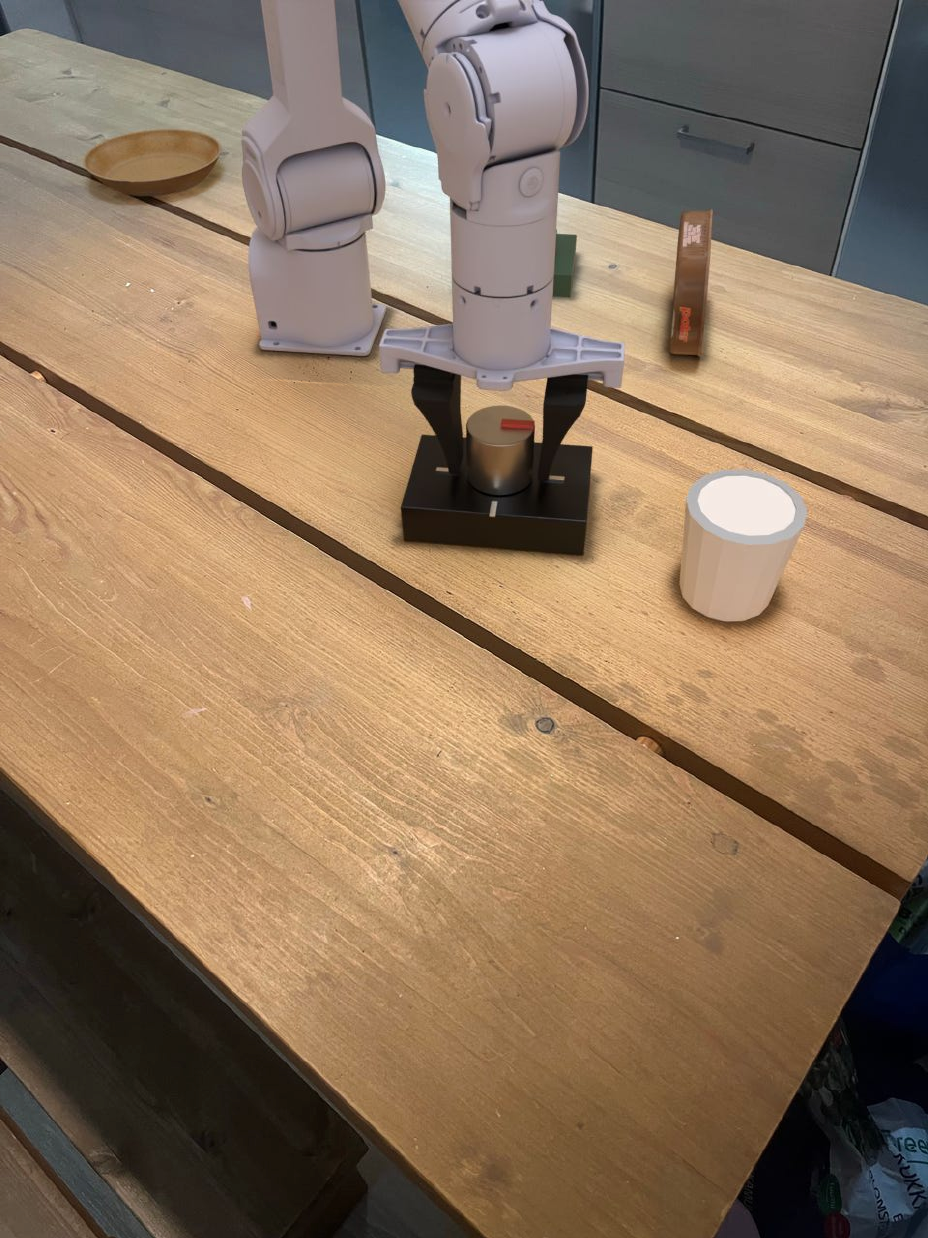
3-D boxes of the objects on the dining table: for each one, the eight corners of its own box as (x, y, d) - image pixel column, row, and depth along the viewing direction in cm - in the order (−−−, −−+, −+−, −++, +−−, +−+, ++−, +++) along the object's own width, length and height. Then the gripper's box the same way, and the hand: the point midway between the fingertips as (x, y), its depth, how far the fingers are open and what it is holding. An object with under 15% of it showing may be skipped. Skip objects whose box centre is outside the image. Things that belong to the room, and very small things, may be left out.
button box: (460, 291, 87) (459, 249, 84) (472, 251, 92) (471, 210, 89) (570, 297, 86) (573, 255, 83) (575, 256, 91) (578, 215, 88)
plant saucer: (163, 142, 113) (158, 118, 111) (253, 169, 107) (249, 145, 105) (62, 185, 105) (54, 160, 103) (152, 217, 99) (146, 192, 97)
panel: (402, 544, 64) (399, 507, 61) (424, 465, 69) (422, 429, 67) (583, 559, 62) (586, 522, 60) (589, 477, 68) (593, 441, 66)
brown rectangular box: (699, 376, 77) (717, 277, 71) (659, 372, 77) (674, 273, 71) (704, 286, 87) (721, 192, 81) (669, 283, 87) (683, 190, 81)
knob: (462, 493, 62) (461, 438, 59) (471, 452, 65) (470, 398, 62) (529, 498, 62) (532, 443, 59) (535, 457, 65) (538, 403, 62)
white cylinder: (757, 645, 57) (784, 559, 52) (652, 602, 59) (667, 517, 54) (795, 576, 61) (823, 490, 56) (694, 539, 63) (713, 453, 58)
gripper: (360, 301, 51) (380, 497, 61) (631, 316, 50) (607, 515, 60) (385, 242, 56) (400, 433, 66) (634, 254, 55) (611, 447, 64)
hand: (499, 468), depth 63 cm, fingers open, 5 cm apart
